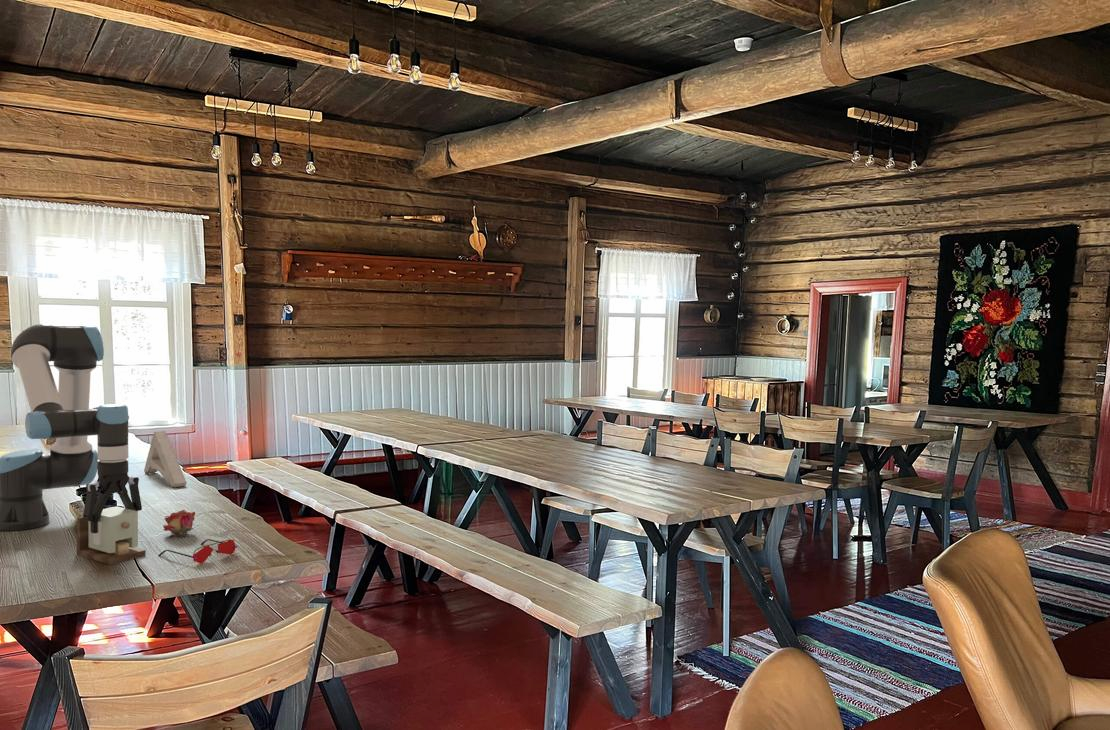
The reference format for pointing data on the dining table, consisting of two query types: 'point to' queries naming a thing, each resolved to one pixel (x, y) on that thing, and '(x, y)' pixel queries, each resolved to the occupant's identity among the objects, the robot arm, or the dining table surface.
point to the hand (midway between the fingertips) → (113, 540)
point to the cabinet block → (116, 528)
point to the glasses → (210, 550)
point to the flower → (180, 522)
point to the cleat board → (119, 555)
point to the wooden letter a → (164, 460)
